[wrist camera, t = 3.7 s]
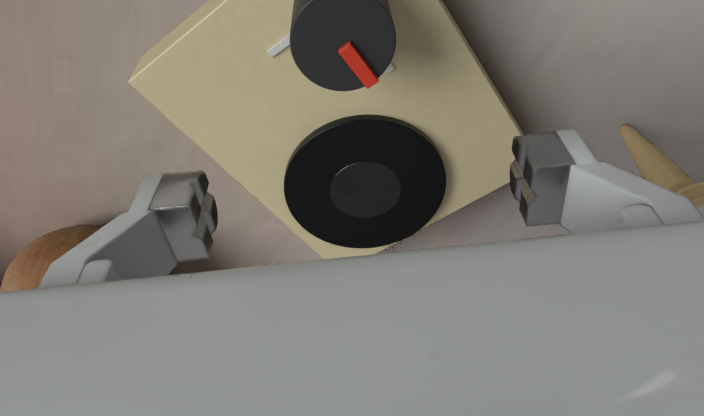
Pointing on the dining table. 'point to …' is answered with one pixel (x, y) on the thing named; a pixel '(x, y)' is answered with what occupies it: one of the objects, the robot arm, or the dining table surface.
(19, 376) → the robot arm
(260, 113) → the hob
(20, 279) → the onion
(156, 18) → the dining table surface
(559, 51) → the dining table surface
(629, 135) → the ice cream cone
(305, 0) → the hob knob
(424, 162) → the burner
